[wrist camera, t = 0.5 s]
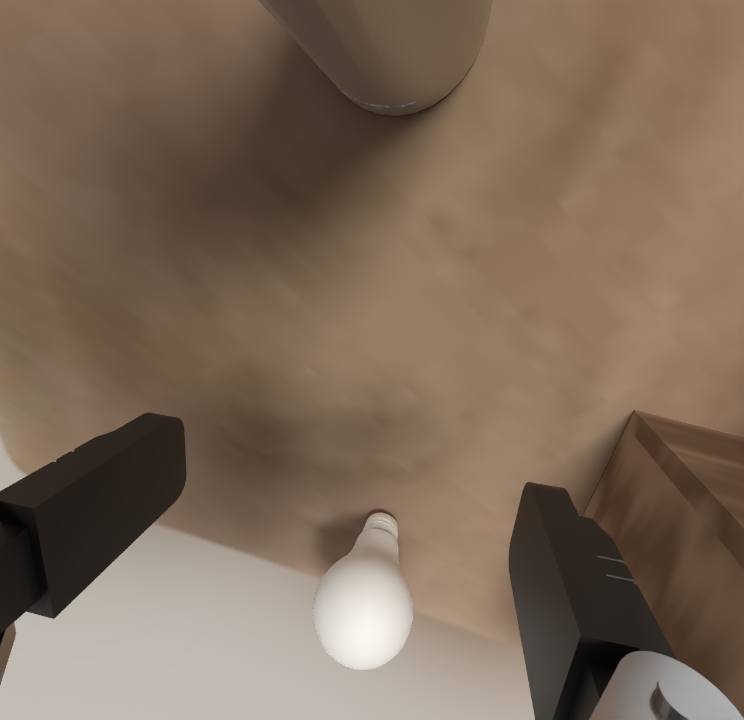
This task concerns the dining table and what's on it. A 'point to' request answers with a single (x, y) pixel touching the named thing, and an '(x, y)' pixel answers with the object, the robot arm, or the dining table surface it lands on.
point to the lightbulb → (365, 600)
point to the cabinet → (683, 538)
